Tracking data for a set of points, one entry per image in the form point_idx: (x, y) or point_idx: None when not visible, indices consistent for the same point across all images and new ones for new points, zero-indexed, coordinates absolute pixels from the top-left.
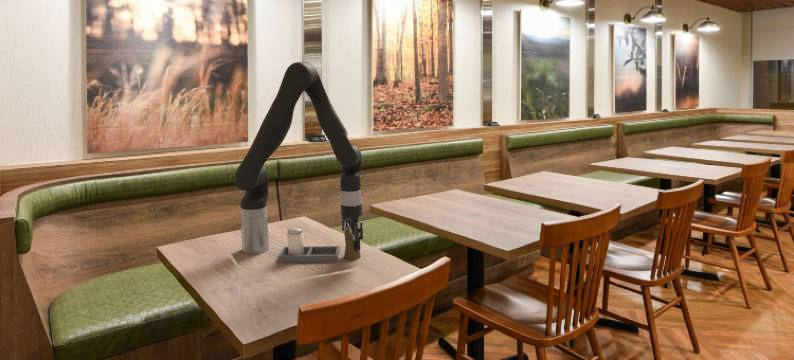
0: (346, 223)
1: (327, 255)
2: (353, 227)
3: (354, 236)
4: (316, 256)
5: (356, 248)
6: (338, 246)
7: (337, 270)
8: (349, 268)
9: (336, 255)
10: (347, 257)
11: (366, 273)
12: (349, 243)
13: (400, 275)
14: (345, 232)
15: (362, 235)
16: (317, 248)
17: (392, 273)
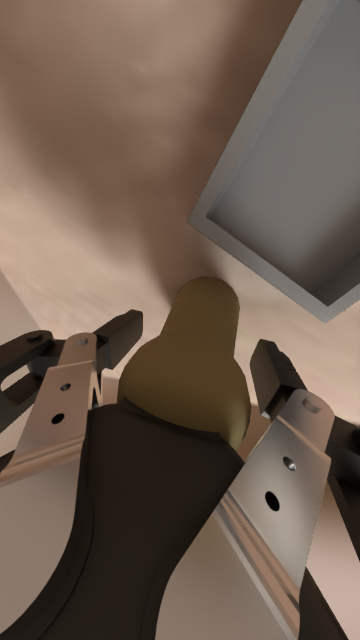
0: (171, 576)
1: (224, 153)
2: (12, 452)
3: (63, 354)
4: (289, 29)
5: (117, 317)
6: (324, 314)
7: (118, 183)
8: (121, 245)
9: (188, 219)
10: (191, 285)
11: (65, 270)
12: (171, 323)
13: (41, 328)
14: (183, 367)
15: (21, 385)
16: None
17: (54, 323)
